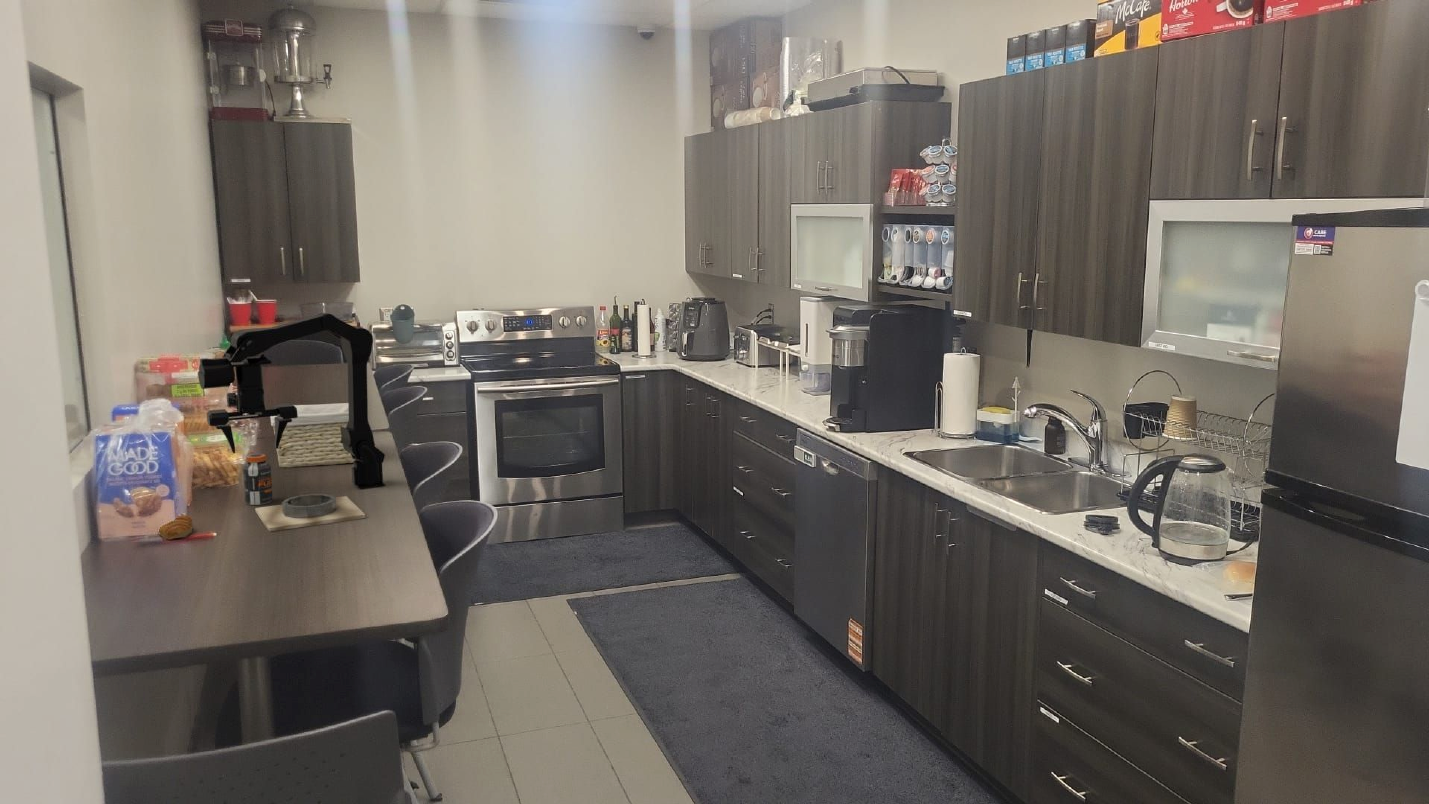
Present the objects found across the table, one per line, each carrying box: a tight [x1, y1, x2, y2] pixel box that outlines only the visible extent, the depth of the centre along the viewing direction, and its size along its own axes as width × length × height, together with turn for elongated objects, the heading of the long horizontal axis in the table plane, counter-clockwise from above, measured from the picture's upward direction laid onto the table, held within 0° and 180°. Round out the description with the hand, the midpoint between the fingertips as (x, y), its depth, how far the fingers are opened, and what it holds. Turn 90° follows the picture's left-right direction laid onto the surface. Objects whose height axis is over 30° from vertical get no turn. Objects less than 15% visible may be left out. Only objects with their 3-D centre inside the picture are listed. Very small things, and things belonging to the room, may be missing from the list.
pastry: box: [158, 513, 194, 541], centre depth 219 cm, size 9×7×4 cm
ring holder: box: [255, 493, 366, 533], centre depth 234 cm, size 20×18×3 cm
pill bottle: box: [242, 453, 274, 506], centre depth 243 cm, size 6×6×11 cm
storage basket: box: [269, 402, 356, 469], centre depth 285 cm, size 24×16×15 cm
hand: (255, 450), depth 242 cm, fingers open, 9 cm apart
